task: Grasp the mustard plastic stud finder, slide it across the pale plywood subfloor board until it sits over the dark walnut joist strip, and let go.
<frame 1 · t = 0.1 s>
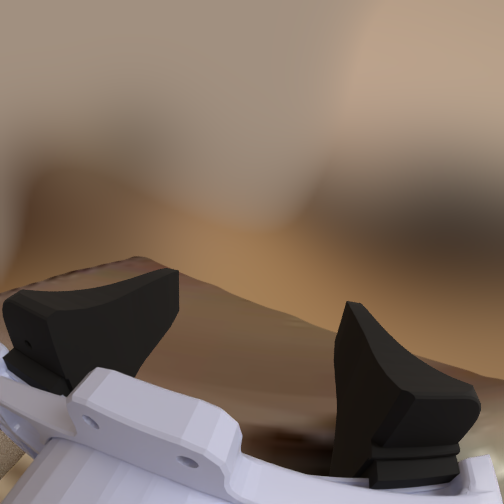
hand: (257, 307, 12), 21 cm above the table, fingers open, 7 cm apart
subfloor: (91, 495, 17), on the table
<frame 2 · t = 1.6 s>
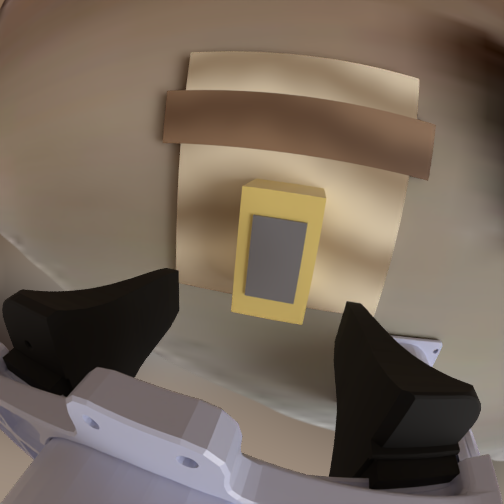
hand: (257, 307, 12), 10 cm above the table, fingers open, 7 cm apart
subfloor: (291, 181, 20), on the table
stud finder: (282, 239, 21), point 1 cm above the table, touching subfloor
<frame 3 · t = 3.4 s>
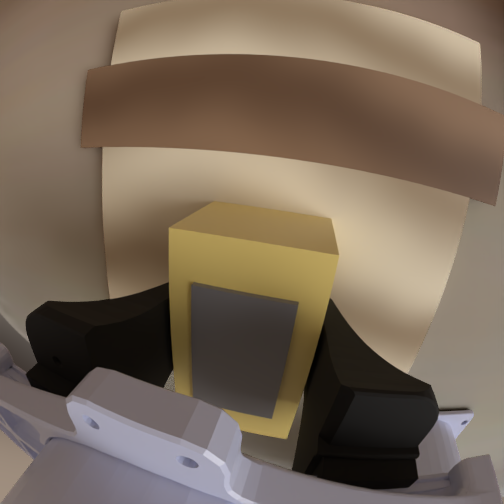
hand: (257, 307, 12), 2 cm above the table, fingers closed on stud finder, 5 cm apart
subfloor: (275, 204, 12), on the table
stud finder: (260, 300, 13), point 1 cm above the table, touching gripper, subfloor
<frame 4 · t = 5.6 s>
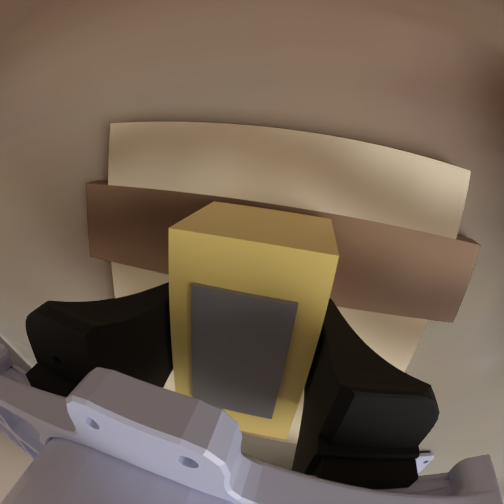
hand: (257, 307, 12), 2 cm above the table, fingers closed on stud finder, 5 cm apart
subfloor: (261, 319, 15), on the table
stud finder: (259, 300, 13), point 1 cm above the table, touching gripper
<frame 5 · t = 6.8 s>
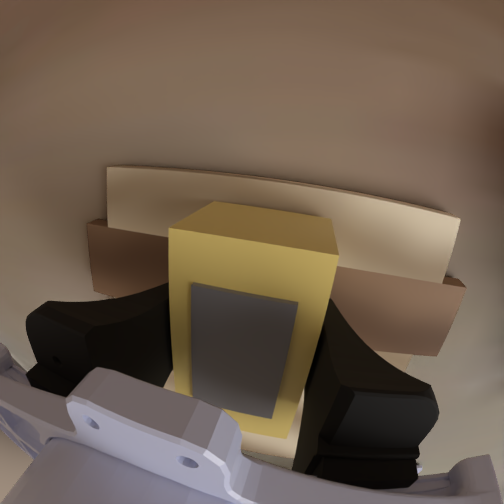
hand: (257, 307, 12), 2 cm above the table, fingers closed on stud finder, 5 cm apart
subfloor: (256, 351, 16), on the table
stud finder: (259, 300, 13), point 1 cm above the table, touching gripper
when the fingers open (2 cm above the table, at t = 7.6 s): stud finder stays where it is, resting on subfloor.
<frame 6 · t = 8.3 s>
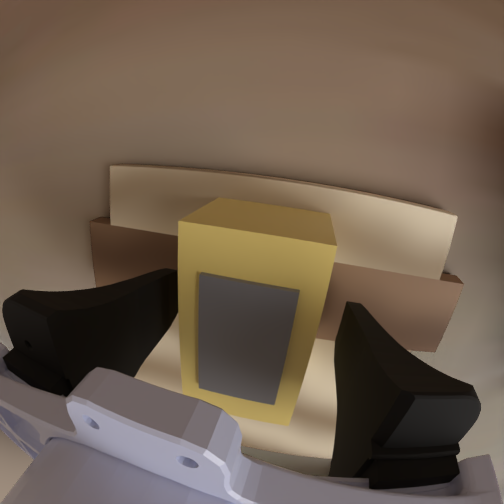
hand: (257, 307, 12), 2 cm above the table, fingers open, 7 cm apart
subfloor: (256, 347, 16), on the table
stud finder: (262, 292, 13), point 1 cm above the table, touching subfloor
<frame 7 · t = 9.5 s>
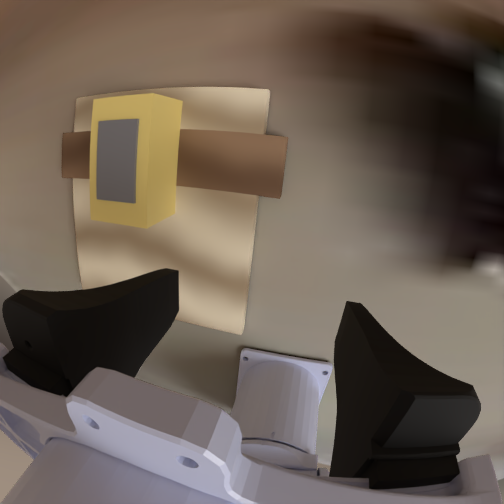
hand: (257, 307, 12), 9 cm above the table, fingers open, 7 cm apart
subfloor: (154, 206, 22), on the table
stud finder: (149, 156, 20), point 1 cm above the table, touching subfloor
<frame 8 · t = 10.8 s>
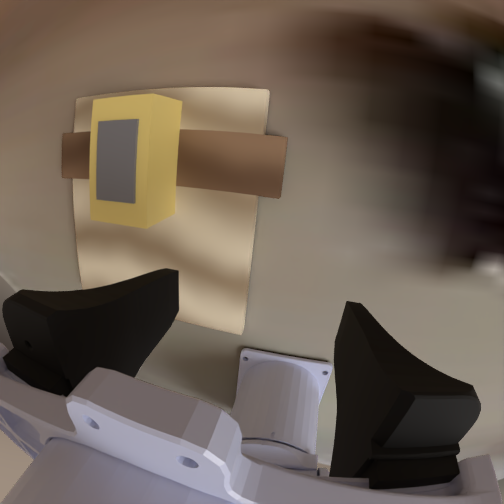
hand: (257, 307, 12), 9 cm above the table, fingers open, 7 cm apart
subfloor: (153, 207, 22), on the table
stud finder: (149, 156, 20), point 1 cm above the table, touching subfloor
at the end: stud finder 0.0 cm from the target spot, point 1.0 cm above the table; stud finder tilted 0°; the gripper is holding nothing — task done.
